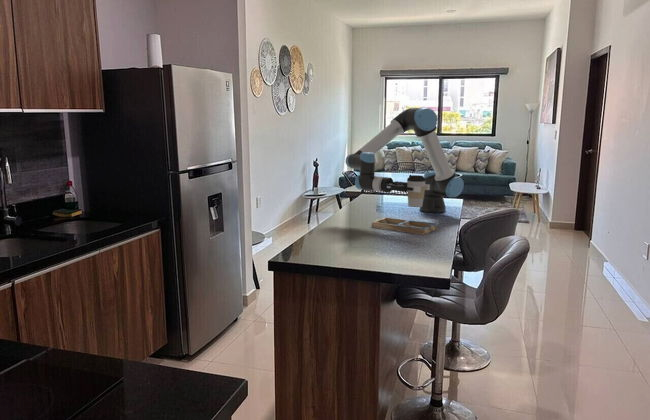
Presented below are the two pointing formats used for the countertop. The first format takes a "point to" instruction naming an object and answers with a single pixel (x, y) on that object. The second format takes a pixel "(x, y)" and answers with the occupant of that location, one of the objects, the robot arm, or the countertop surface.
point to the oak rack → (405, 225)
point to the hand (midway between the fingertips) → (424, 188)
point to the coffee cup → (415, 197)
